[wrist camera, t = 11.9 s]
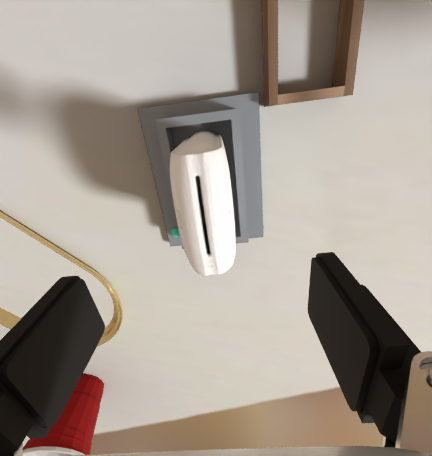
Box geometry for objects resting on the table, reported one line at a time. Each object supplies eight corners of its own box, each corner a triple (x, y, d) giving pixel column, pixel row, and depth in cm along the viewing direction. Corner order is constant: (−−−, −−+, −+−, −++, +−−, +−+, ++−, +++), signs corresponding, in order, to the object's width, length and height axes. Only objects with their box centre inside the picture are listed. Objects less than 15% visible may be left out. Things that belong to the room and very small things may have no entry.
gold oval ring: (88, 356, 42) (83, 364, 40) (-144, 240, 31) (-161, 246, 30) (149, 297, 36) (146, 305, 34) (-113, 131, 25) (-133, 131, 24)
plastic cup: (99, 406, 48) (65, 490, 37) (50, 383, 45) (-2, 469, 34) (129, 383, 45) (102, 468, 34) (79, 358, 41) (31, 443, 31)
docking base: (256, 93, 23) (264, 89, 20) (261, 233, 30) (268, 249, 27) (140, 108, 24) (127, 108, 20) (171, 242, 31) (165, 259, 27)
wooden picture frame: (360, -109, 18) (381, -142, 15) (339, 96, 23) (352, 94, 21) (259, -91, 18) (265, -120, 16) (264, 106, 24) (269, 105, 22)
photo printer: (231, 218, 28) (242, 286, 17) (197, 222, 29) (184, 291, 17) (223, 127, 24) (230, 139, 13) (182, 132, 24) (153, 148, 13)
